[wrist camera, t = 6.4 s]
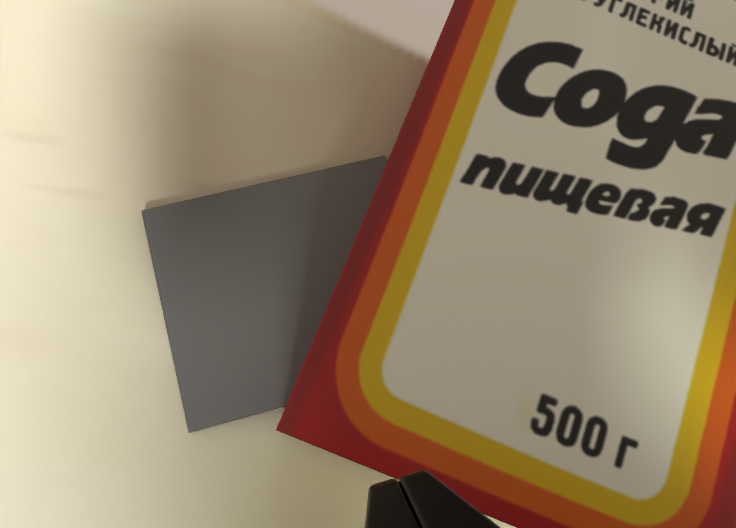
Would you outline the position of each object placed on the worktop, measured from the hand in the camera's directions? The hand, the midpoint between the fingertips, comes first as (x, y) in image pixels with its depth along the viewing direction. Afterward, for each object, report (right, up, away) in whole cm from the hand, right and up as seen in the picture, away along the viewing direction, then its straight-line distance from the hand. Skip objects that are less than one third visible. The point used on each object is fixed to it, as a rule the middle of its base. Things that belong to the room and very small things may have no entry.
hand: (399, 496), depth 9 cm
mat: (-3, +2, +11) cm, 12 cm away
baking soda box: (+2, -3, +7) cm, 7 cm away
